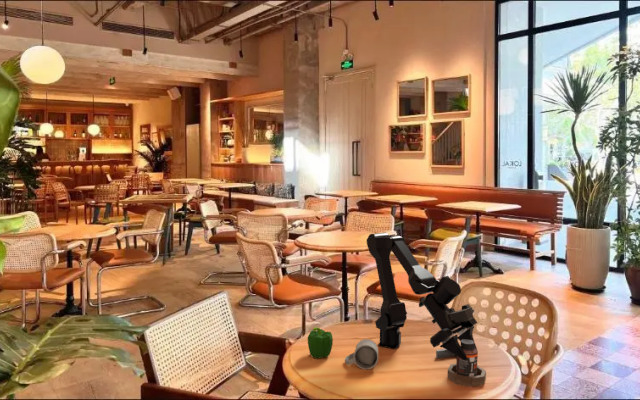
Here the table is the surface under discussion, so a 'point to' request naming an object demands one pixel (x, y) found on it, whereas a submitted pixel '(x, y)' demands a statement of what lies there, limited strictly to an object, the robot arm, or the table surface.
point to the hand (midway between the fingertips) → (471, 356)
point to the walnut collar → (467, 380)
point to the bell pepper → (320, 343)
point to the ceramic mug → (364, 355)
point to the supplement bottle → (470, 364)
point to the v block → (444, 353)
